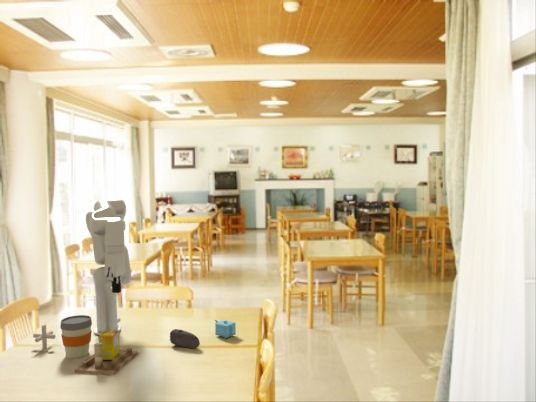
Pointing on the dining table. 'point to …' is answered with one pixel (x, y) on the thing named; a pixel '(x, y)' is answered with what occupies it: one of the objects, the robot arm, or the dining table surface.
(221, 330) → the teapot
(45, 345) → the pipe connector
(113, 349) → the supplement box
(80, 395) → the dining table surface
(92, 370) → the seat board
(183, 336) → the perforated stone tool
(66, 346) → the reusable coffee cup
